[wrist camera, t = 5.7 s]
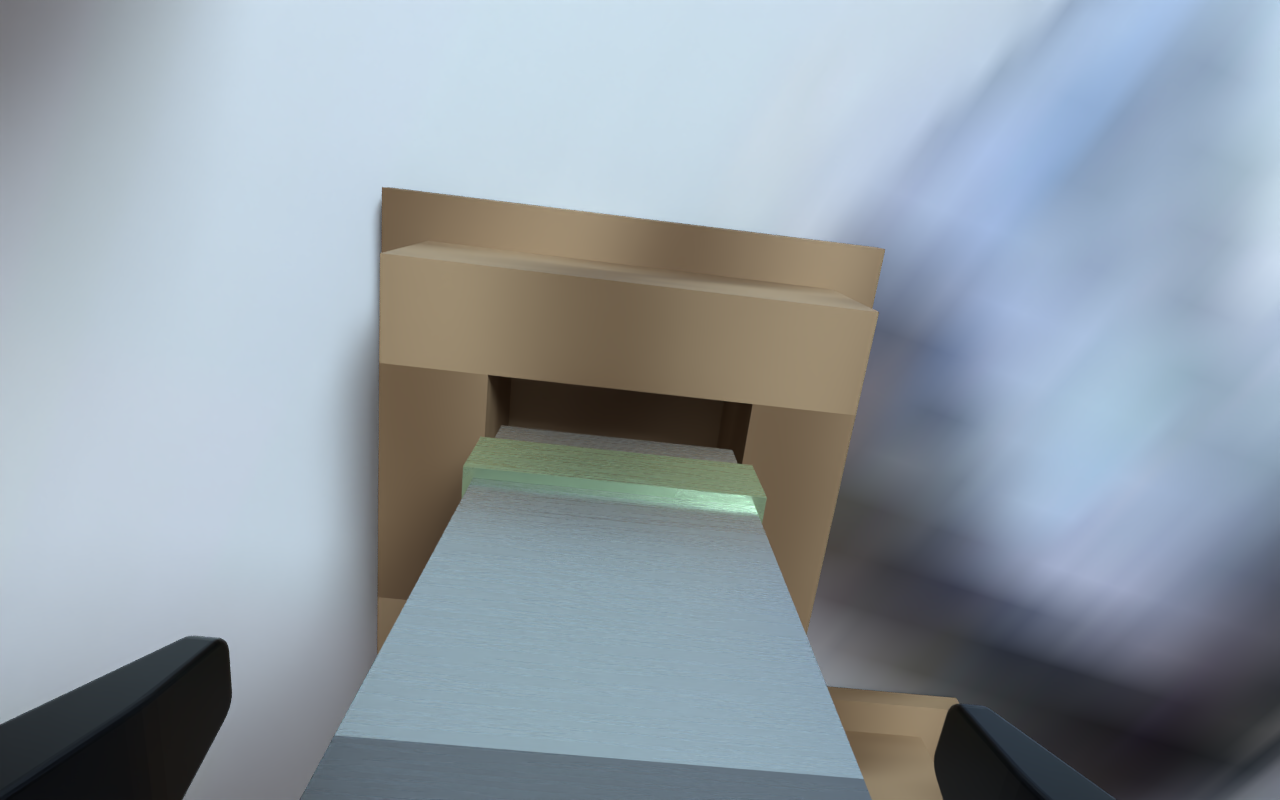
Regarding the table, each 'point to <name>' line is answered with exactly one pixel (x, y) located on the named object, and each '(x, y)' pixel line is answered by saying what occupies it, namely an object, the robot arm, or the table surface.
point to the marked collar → (612, 358)
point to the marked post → (596, 642)
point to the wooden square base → (893, 740)
